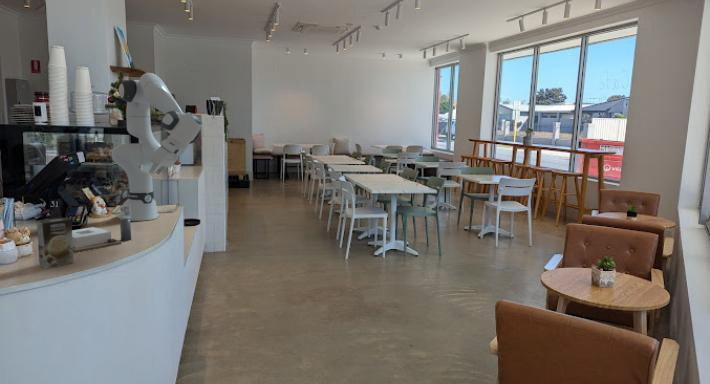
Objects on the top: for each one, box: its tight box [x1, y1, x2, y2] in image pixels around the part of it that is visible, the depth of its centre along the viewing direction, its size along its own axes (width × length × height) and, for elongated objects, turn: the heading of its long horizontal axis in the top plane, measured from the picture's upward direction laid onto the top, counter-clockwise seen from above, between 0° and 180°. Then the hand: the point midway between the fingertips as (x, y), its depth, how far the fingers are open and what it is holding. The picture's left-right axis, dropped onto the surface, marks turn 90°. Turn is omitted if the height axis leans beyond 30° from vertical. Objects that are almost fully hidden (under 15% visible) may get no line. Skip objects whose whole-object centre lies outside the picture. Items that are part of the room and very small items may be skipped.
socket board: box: [73, 238, 122, 254], centre depth 199 cm, size 22×18×2 cm
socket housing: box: [72, 226, 112, 248], centre depth 198 cm, size 14×14×4 cm
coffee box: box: [36, 217, 74, 269], centre depth 170 cm, size 9×6×16 cm
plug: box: [119, 216, 132, 242], centre depth 206 cm, size 4×4×10 cm
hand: (154, 173), depth 205 cm, fingers open, 8 cm apart
